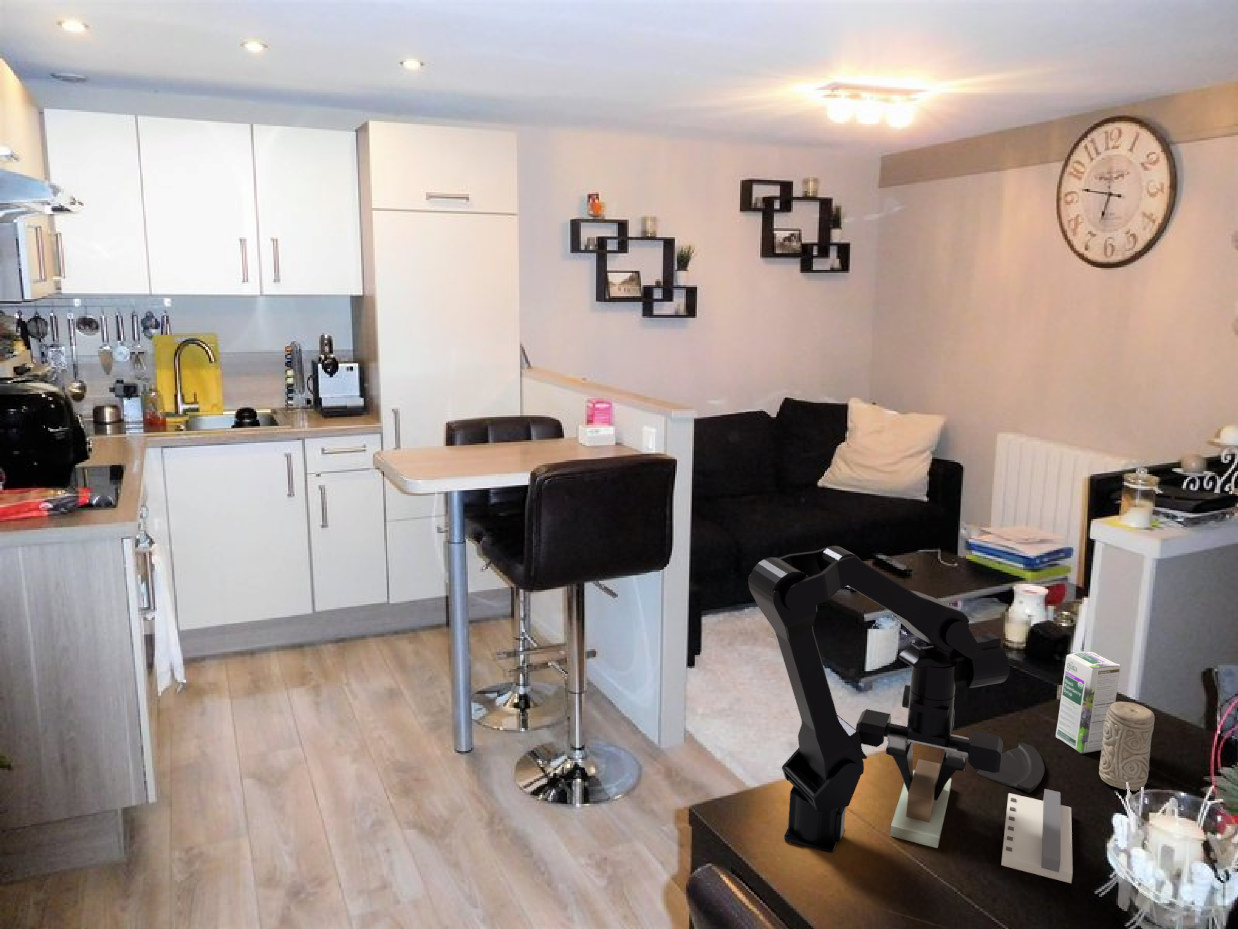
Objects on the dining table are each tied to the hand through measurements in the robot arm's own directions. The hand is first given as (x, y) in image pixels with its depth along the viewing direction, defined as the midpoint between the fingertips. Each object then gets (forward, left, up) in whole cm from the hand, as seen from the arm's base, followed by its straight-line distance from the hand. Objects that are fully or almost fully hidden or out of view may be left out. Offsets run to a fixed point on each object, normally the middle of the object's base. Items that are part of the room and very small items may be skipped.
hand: (923, 796), depth 128 cm
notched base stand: (+15, 0, -3) cm, 15 cm away
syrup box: (+21, +32, -3) cm, 38 cm away
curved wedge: (+12, +18, -3) cm, 22 cm away
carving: (+26, +21, -3) cm, 33 cm away
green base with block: (0, 0, -2) cm, 2 cm away
